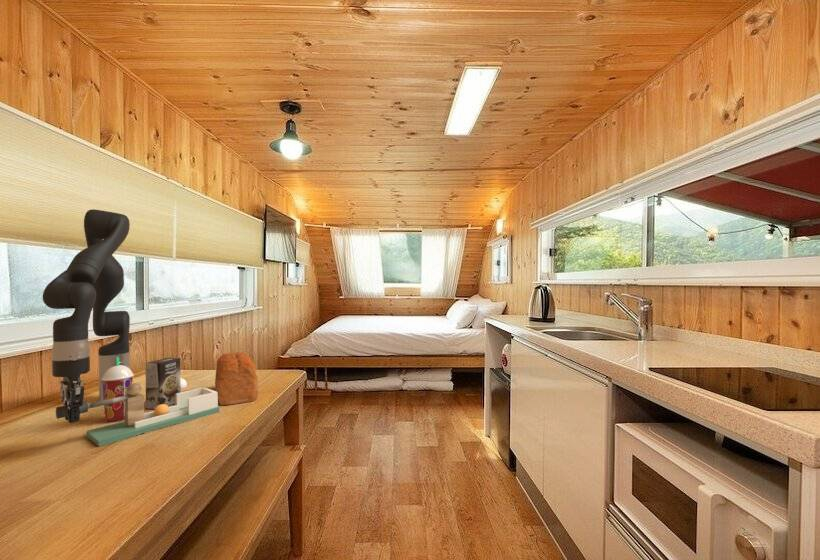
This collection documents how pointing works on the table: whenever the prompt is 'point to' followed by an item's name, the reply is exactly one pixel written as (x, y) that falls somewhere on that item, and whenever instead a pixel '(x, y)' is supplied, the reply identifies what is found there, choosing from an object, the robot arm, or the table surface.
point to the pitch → (160, 417)
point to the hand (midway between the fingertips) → (72, 420)
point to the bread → (236, 379)
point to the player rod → (132, 402)
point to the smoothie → (116, 390)
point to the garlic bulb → (183, 383)
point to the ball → (161, 410)
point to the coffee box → (162, 382)
